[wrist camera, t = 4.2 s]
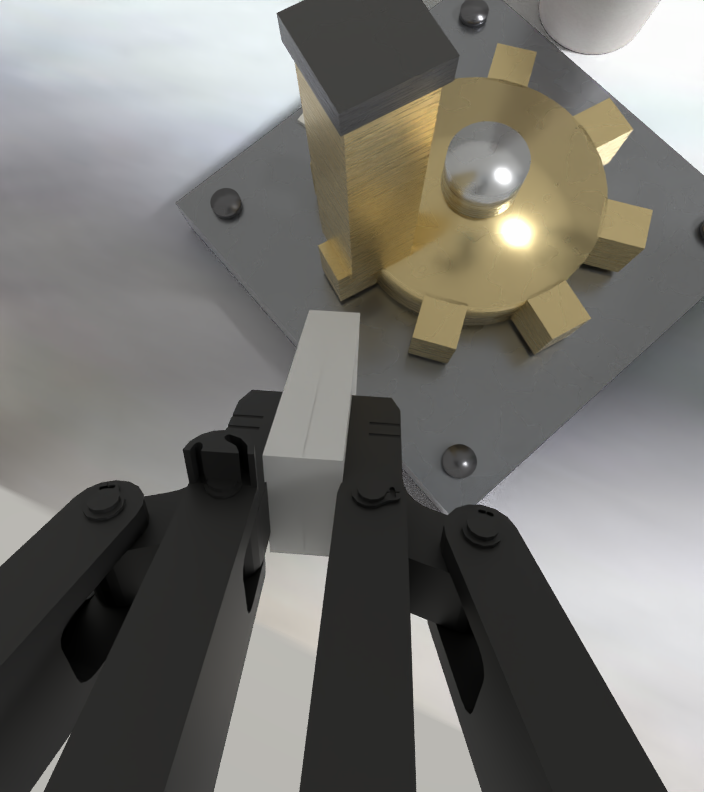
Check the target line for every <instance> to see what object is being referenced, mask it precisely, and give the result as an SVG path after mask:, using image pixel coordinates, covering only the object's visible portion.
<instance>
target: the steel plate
mask: <svg viewBox="0 0 704 792" xmlns="http://www.w3.org/2000/svg"><path fill="white" fill-rule="evenodd" d="M429 12H430V13H431V14H432V16H433V17H434V19H435V20H436V22H437V23H438V25H439V26H440V27H441V29H442V30H443V32H444V33H445V35H446V36H447V38H448V39H449V40H450V42H451V43H452V45H453V46H454V48H455V49H456V50H457V52H458V53H459V55H460V56H459V60H458V65H457V70H456V74H455V79H456V78H466V77H484V78H487V77H488V74H489V71H490V67H491V64H492V60H493V57H494V53H495V50H496V47H497V43H500V44H504V45H509V46H513V47H517V48H522V49H526V50H531V51H535V52H537V54H536V57H535V61H534V65H533V68H532V72H531V76H530V79H529V83H528V87H529V88H531V89H533V90H536V91H538V92H540V93H542V94H544V95H545V96H547V97H549V98H551V99H552V100H554V101H555V102H556V103H558V104H559V105H561V106H562V107H563V108H565V109H566V110H567V111H568V112H569V113H570V114H571V115H572V116H575V115H577V114H579V113H580V112H582V111H584V110H586V109H588V108H590V107H592V106H594V105H596V104H598V103H600V102H602V101H604V100H606V99H608V98H610V99H611V100H612V101H613V103H614V104H615V105H616V107H617V108H618V109H619V111H620V112H621V113H622V115H623V116H624V117H625V119H626V120H627V121H628V123H629V124H630V125H631V127H632V128H633V130H632V132H631V133H630V135H629V136H628V137H627V139H626V140H625V141H624V143H623V144H622V146H621V147H620V148H619V150H618V151H617V152H616V154H615V155H614V156H613V158H612V159H611V161H610V162H609V163H608V164H606V165H604V166H603V167H604V170H605V174H606V181H607V188H608V199H610V200H614V201H618V202H622V203H626V204H630V205H635V206H639V207H643V208H647V209H651V210H653V212H652V216H651V221H650V226H649V231H648V236H647V241H646V245H645V249H644V250H643V251H641V252H640V253H639V254H638V255H637V256H636V257H635V258H634V259H632V260H631V261H630V262H629V263H628V264H627V265H626V266H624V267H623V268H622V269H621V270H620V271H619V272H614V271H610V270H607V269H603V268H599V267H595V266H591V265H587V264H583V263H582V264H581V265H580V266H579V268H578V269H577V270H576V271H575V272H574V273H573V274H572V275H571V276H570V277H569V278H568V279H567V280H566V281H567V283H568V284H569V286H570V287H571V289H572V290H573V292H574V293H575V295H576V296H577V298H578V299H579V301H580V302H581V304H582V305H583V307H584V308H585V310H586V311H587V313H588V314H589V316H590V317H591V319H590V320H589V321H587V322H586V323H585V324H583V325H582V326H581V327H580V328H578V329H577V330H576V331H574V332H573V333H572V334H571V335H569V336H568V337H566V338H564V339H562V340H560V341H559V342H557V343H555V344H553V345H551V346H549V347H547V348H546V349H544V350H542V351H540V352H538V353H536V354H535V355H534V354H533V352H532V351H531V349H530V347H529V346H528V344H527V343H526V341H525V340H524V338H523V336H522V335H521V333H520V332H519V330H518V329H517V327H516V325H515V324H514V322H513V321H512V319H510V320H506V321H503V322H499V323H493V324H487V325H470V326H469V325H463V326H462V330H461V333H460V337H459V341H458V344H457V348H456V350H455V352H454V354H453V355H452V357H451V358H450V360H449V362H448V363H447V364H446V363H443V362H439V361H435V360H432V359H428V358H425V357H421V356H418V355H414V354H410V353H408V350H409V346H410V343H411V340H412V336H413V333H414V329H415V326H416V322H417V319H418V315H419V314H418V313H416V312H414V311H412V310H410V309H408V308H406V307H405V306H403V305H402V304H400V303H399V302H397V301H396V300H395V299H393V298H392V297H391V296H390V295H389V294H388V293H386V292H385V291H384V290H383V289H382V288H381V286H380V285H379V284H378V283H376V284H374V285H372V286H370V287H368V288H366V289H364V290H362V291H360V292H358V293H356V294H354V295H353V296H351V297H349V298H347V299H345V300H343V301H340V299H339V297H338V296H337V294H336V292H335V290H334V289H333V287H332V285H331V283H330V282H329V280H328V278H327V276H326V275H325V273H324V271H323V269H322V264H321V259H320V253H319V248H318V245H320V244H322V243H324V242H326V241H327V239H326V237H325V235H324V234H323V232H322V226H321V220H320V213H319V207H318V201H317V195H316V194H315V189H314V184H313V178H312V172H311V166H310V163H311V158H310V152H309V146H308V140H307V134H306V128H305V122H304V116H303V109H302V107H301V108H300V109H299V110H297V111H296V112H295V113H293V114H292V115H291V116H289V117H288V118H287V119H286V120H284V121H283V122H282V123H280V124H279V125H278V126H276V127H275V128H274V129H272V130H271V131H270V132H268V133H267V134H266V135H264V136H263V137H262V138H260V139H259V140H258V141H257V142H255V143H254V144H253V145H251V146H250V147H249V148H247V149H246V150H245V151H243V152H242V153H241V154H239V155H238V156H237V157H235V158H234V159H233V160H232V161H230V162H229V163H228V164H226V165H225V166H224V167H222V168H221V169H220V170H218V171H217V172H216V173H214V174H213V175H212V176H210V177H209V178H208V179H207V180H205V181H204V182H203V183H201V184H200V185H199V186H197V187H196V188H195V189H193V190H192V191H191V192H189V193H188V194H187V195H185V196H184V197H183V198H182V199H180V200H179V201H178V202H176V205H177V206H178V208H179V209H180V211H181V212H182V214H183V215H184V217H185V218H186V220H187V222H188V223H189V225H190V226H191V228H192V229H193V230H194V231H195V232H196V233H197V234H198V236H199V237H200V238H201V239H202V240H203V241H204V242H205V244H206V245H207V246H208V247H209V248H210V249H211V250H212V252H213V253H214V254H215V255H216V256H217V257H218V258H219V260H220V261H221V262H222V263H223V264H224V265H225V266H226V268H227V269H228V270H229V271H230V272H231V273H232V274H233V275H234V277H235V278H236V279H237V280H238V281H239V282H240V283H241V285H242V286H243V287H244V288H245V289H246V290H247V291H248V293H249V294H250V295H251V296H252V297H253V298H254V299H255V301H256V302H257V303H258V304H259V305H260V306H261V307H262V309H263V310H264V311H265V312H266V313H267V314H268V315H269V317H270V318H271V319H272V320H273V321H274V322H275V323H276V325H277V326H278V327H279V328H280V329H281V330H282V331H283V333H284V334H285V335H286V336H287V337H288V338H289V339H290V341H291V342H292V343H293V344H294V345H295V346H296V347H297V346H298V343H299V340H300V337H301V334H302V331H303V328H304V325H305V322H306V319H307V316H308V312H309V310H320V311H337V312H354V313H360V326H359V346H358V366H357V386H356V395H357V396H373V397H388V398H392V399H393V400H394V402H395V403H396V405H397V406H398V407H399V409H400V413H401V446H402V468H403V469H404V471H405V472H406V473H407V474H408V475H409V476H410V477H411V479H412V480H413V481H414V482H415V483H416V484H417V485H418V487H419V488H420V489H421V490H422V491H423V492H424V493H425V495H426V496H427V497H428V498H429V499H430V500H431V501H432V503H433V504H434V505H435V506H436V507H437V508H438V509H439V511H440V512H441V513H443V514H446V515H448V514H449V513H450V512H452V511H453V510H454V509H455V508H457V507H461V506H464V505H468V504H471V505H476V504H477V503H478V502H479V501H480V500H481V499H483V498H484V497H485V496H486V495H487V494H488V493H489V492H490V491H491V490H492V489H493V488H495V487H496V486H497V485H498V484H499V483H500V482H501V481H502V480H503V479H504V478H506V477H507V476H508V475H509V474H510V473H511V472H512V471H513V470H514V469H515V468H516V467H518V466H519V465H520V464H521V463H522V462H523V461H524V460H525V459H526V458H527V457H529V456H530V455H531V454H532V453H533V452H534V451H535V450H536V449H537V448H538V447H539V446H541V445H542V444H543V443H544V442H545V441H546V440H547V439H548V438H549V437H550V436H552V435H553V434H554V433H555V432H556V431H557V430H558V429H559V428H560V427H561V426H562V425H564V424H565V423H566V422H567V421H568V420H569V419H570V418H571V417H572V416H573V415H575V414H576V413H577V412H578V411H579V410H580V409H581V408H582V407H583V406H584V405H585V404H587V403H588V402H589V401H590V400H591V399H592V398H593V397H594V396H595V395H596V394H598V393H599V392H600V391H601V390H602V389H603V388H604V387H605V386H606V385H607V384H608V383H610V382H611V381H612V380H613V379H614V378H615V377H616V376H617V375H618V374H619V373H621V372H622V371H623V370H624V369H625V368H626V367H627V366H628V365H629V364H630V363H631V362H633V361H634V360H635V359H636V358H637V357H638V356H639V355H640V354H641V353H642V352H644V351H645V350H646V349H647V348H648V347H649V346H650V345H651V344H652V343H653V342H654V341H656V340H657V339H658V338H659V337H660V336H661V335H662V334H663V333H664V332H665V331H667V330H668V329H669V328H670V327H671V326H672V325H673V324H674V323H675V322H676V321H677V320H679V319H680V318H681V317H682V316H683V315H684V314H685V313H686V312H687V311H688V310H690V309H691V308H692V307H693V306H694V305H695V304H696V303H697V302H698V301H699V300H700V299H702V298H703V297H704V175H702V174H701V173H700V172H699V171H698V170H697V169H696V168H694V167H693V166H692V165H691V164H690V163H689V162H688V161H686V160H685V159H684V158H683V157H682V156H681V155H680V154H678V153H677V152H676V151H675V150H674V149H673V148H671V147H670V146H669V145H668V144H667V143H666V142H665V141H663V140H662V139H661V138H660V137H659V136H658V135H657V134H655V133H654V132H653V131H652V130H651V129H650V128H649V127H647V126H646V125H645V124H644V123H643V122H642V121H641V120H639V119H638V118H637V117H636V116H635V115H634V114H632V113H631V112H630V111H629V110H628V109H627V108H626V107H624V106H623V105H622V104H621V103H620V102H619V101H618V100H616V99H615V98H614V97H613V96H612V95H611V94H610V93H608V92H607V91H606V90H605V89H604V88H603V87H602V86H600V85H599V84H598V83H597V82H596V81H595V80H593V79H592V78H591V77H590V76H589V75H588V74H587V73H585V72H584V71H583V70H582V69H581V68H580V67H579V66H577V65H576V64H575V63H574V62H573V61H572V60H571V59H569V58H568V57H567V56H566V55H565V54H564V53H563V52H561V51H560V50H559V49H558V48H557V47H556V46H555V45H553V44H552V43H551V42H550V41H549V40H548V39H546V38H545V37H544V36H543V35H542V34H541V33H540V32H538V31H537V30H536V29H535V28H534V27H533V26H532V25H530V24H529V23H528V22H527V21H526V20H525V19H524V18H522V17H521V16H520V15H519V14H518V13H517V12H516V11H514V10H513V9H512V8H511V7H510V6H509V5H507V4H506V3H505V2H504V1H503V0H442V1H441V2H440V3H438V4H437V5H436V6H434V7H433V8H432V9H430V10H429ZM530 164H531V155H530V150H529V148H528V145H527V143H526V141H525V140H524V139H523V137H522V136H521V135H520V134H519V133H518V132H517V131H515V130H514V129H512V128H511V127H509V126H507V125H505V124H502V123H498V122H491V121H483V122H477V123H473V124H471V125H468V126H466V127H464V128H463V129H461V130H460V131H459V132H458V133H457V134H456V135H455V136H454V137H453V139H452V140H451V142H450V144H449V146H448V150H447V154H446V158H445V162H444V167H443V171H442V175H441V190H442V193H443V196H444V198H445V200H446V201H447V203H448V204H449V205H450V206H451V207H452V208H453V209H454V210H456V211H457V212H459V213H461V214H462V215H465V216H468V217H472V218H490V217H494V216H496V215H499V214H500V213H502V212H504V211H505V210H506V209H507V208H509V207H510V205H511V204H512V203H513V201H514V200H515V198H516V196H517V194H518V192H519V190H520V188H521V186H522V184H523V182H524V180H525V178H526V176H527V174H528V172H529V169H530Z"/></svg>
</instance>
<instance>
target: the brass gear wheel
mask: <svg viewBox="0 0 704 792" xmlns="http://www.w3.org/2000/svg"><path fill="white" fill-rule="evenodd" d="M277 18H278V23H279V28H280V34H281V39H282V42H283V44H284V45H285V47H286V48H287V50H288V52H289V53H290V55H291V57H292V58H293V60H294V62H295V67H296V73H297V79H298V85H299V91H300V97H301V103H302V109H303V116H304V122H305V128H306V134H307V140H308V146H309V152H310V158H311V163H310V166H311V172H312V178H313V184H314V189H315V194H316V195H317V201H318V207H319V213H320V220H321V226H322V232H323V234H324V235H325V237H326V239H327V241H326V242H324V243H322V244H320V245H318V248H319V253H320V259H321V264H322V269H323V271H324V273H325V275H326V276H327V278H328V280H329V282H330V283H331V285H332V287H333V289H334V290H335V292H336V294H337V296H338V297H339V299H340V301H343V300H345V299H347V298H349V297H351V296H353V295H354V294H356V293H358V292H360V291H362V290H364V289H366V288H368V287H370V286H372V285H374V284H376V283H378V284H379V285H380V286H381V288H382V289H383V290H384V291H385V292H386V293H388V294H389V295H390V296H391V297H392V298H393V299H395V300H396V301H397V302H399V303H400V304H402V305H403V306H405V307H406V308H408V309H410V310H412V311H414V312H416V313H418V314H419V315H418V319H417V322H416V326H415V329H414V333H413V336H412V340H411V343H410V346H409V350H408V353H410V354H414V355H418V356H421V357H425V358H428V359H432V360H435V361H439V362H443V363H446V364H447V363H448V362H449V360H450V358H451V357H452V355H453V354H454V352H455V350H456V348H457V344H458V341H459V337H460V333H461V330H462V326H463V325H469V326H470V325H487V324H493V323H499V322H503V321H506V320H510V319H512V321H513V322H514V324H515V325H516V327H517V329H518V330H519V332H520V333H521V335H522V336H523V338H524V340H525V341H526V343H527V344H528V346H529V347H530V349H531V351H532V352H533V354H534V355H535V354H536V353H538V352H540V351H542V350H544V349H546V348H547V347H549V346H551V345H553V344H555V343H557V342H559V341H560V340H562V339H564V338H566V337H568V336H569V335H571V334H572V333H573V332H574V331H576V330H577V329H578V328H580V327H581V326H582V325H583V324H585V323H586V322H587V321H589V320H590V319H591V317H590V316H589V314H588V313H587V311H586V310H585V308H584V307H583V305H582V304H581V302H580V301H579V299H578V298H577V296H576V295H575V293H574V292H573V290H572V289H571V287H570V286H569V284H568V283H567V281H566V280H567V279H568V278H569V277H570V276H571V275H572V274H573V273H574V272H575V271H576V270H577V269H578V268H579V266H580V265H581V264H582V263H583V264H587V265H591V266H595V267H599V268H603V269H607V270H610V271H614V272H619V271H620V270H621V269H622V268H623V267H624V266H626V265H627V264H628V263H629V262H630V261H631V260H632V259H634V258H635V257H636V256H637V255H638V254H639V253H640V252H641V251H643V250H644V249H645V245H646V241H647V236H648V231H649V226H650V221H651V216H652V212H653V210H651V209H647V208H643V207H639V206H635V205H630V204H626V203H622V202H618V201H614V200H610V199H608V188H607V181H606V174H605V170H604V167H603V166H604V165H606V164H608V163H609V162H610V161H611V159H612V158H613V156H614V155H615V154H616V152H617V151H618V150H619V148H620V147H621V146H622V144H623V143H624V141H625V140H626V139H627V137H628V136H629V135H630V133H631V132H632V130H633V128H632V127H631V125H630V124H629V123H628V121H627V120H626V119H625V117H624V116H623V115H622V113H621V112H620V111H619V109H618V108H617V107H616V105H615V104H614V103H613V101H612V100H611V99H610V98H608V99H606V100H604V101H602V102H600V103H598V104H596V105H594V106H592V107H590V108H588V109H586V110H584V111H582V112H580V113H579V114H577V115H575V116H572V115H571V114H570V113H569V112H568V111H567V110H566V109H565V108H563V107H562V106H561V105H559V104H558V103H556V102H555V101H554V100H552V99H551V98H549V97H547V96H545V95H544V94H542V93H540V92H538V91H536V90H533V89H531V88H529V87H528V83H529V79H530V76H531V72H532V68H533V65H534V61H535V57H536V54H537V52H535V51H531V50H526V49H522V48H517V47H513V46H509V45H504V44H500V43H497V47H496V50H495V53H494V57H493V60H492V64H491V67H490V71H489V74H488V77H487V78H484V77H466V78H456V79H455V74H456V70H457V65H458V60H459V56H460V55H459V53H458V52H457V50H456V49H455V48H454V46H453V45H452V43H451V42H450V40H449V39H448V38H447V36H446V35H445V33H444V32H443V30H442V29H441V27H440V26H439V25H438V23H437V22H436V20H435V19H434V17H433V16H432V14H431V13H430V12H429V10H428V9H427V7H426V6H425V4H424V3H423V1H422V0H304V1H301V2H299V3H297V4H295V5H293V6H291V7H289V8H287V9H284V10H282V11H280V12H278V13H277ZM483 121H491V122H498V123H502V124H505V125H507V126H509V127H511V128H512V129H514V130H515V131H517V132H518V133H519V134H520V135H521V136H522V137H523V139H524V140H525V141H526V143H527V145H528V148H529V150H530V155H531V164H530V169H529V172H528V174H527V176H526V178H525V180H524V182H523V184H522V186H521V188H520V190H519V192H518V194H517V196H516V198H515V200H514V201H513V203H512V204H511V205H510V207H509V208H507V209H506V210H505V211H504V212H502V213H500V214H499V215H496V216H494V217H490V218H472V217H468V216H465V215H462V214H461V213H459V212H457V211H456V210H454V209H453V208H452V207H451V206H450V205H449V204H448V203H447V201H446V200H445V198H444V196H443V193H442V190H441V175H442V171H443V167H444V162H445V158H446V154H447V150H448V146H449V144H450V142H451V140H452V139H453V137H454V136H455V135H456V134H457V133H458V132H459V131H460V130H461V129H463V128H464V127H466V126H468V125H471V124H473V123H477V122H483Z"/></svg>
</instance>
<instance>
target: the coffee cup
mask: <svg viewBox="0 0 704 792" xmlns="http://www.w3.org/2000/svg"><path fill="white" fill-rule="evenodd" d="M660 1H661V0H540V3H539V15H540V19H541V22H542V24H543V26H544V28H545V30H546V31H547V33H548V34H549V35H550V36H551V37H552V38H553V39H554V40H555V41H556V42H557V43H559V44H560V45H562V46H564V47H565V48H568V49H570V50H572V51H575V52H579V53H584V54H605V53H609V52H613V51H616V50H618V49H620V48H622V47H624V46H625V45H627V44H628V43H629V42H631V41H632V40H633V39H634V38H635V36H636V35H637V34H638V32H639V31H640V30H641V28H642V27H643V25H644V24H645V22H646V21H647V20H648V18H649V17H650V15H651V14H652V12H653V11H654V10H655V8H656V7H657V5H658V4H659V2H660Z"/></svg>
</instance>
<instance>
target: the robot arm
mask: <svg viewBox="0 0 704 792" xmlns="http://www.w3.org/2000/svg"><path fill="white" fill-rule="evenodd" d="M359 326H360V313H354V312H337V311H320V310H309V312H308V316H307V319H306V322H305V325H304V328H303V331H302V334H301V337H300V340H299V343H298V346H297V350H296V353H295V356H294V359H293V362H292V365H291V368H290V371H289V374H288V377H287V381H286V384H285V387H284V390H283V392H275V391H260V390H251V391H250V392H249V393H248V394H247V395H245V396H244V397H243V398H242V399H241V400H239V402H238V404H237V406H236V409H235V411H234V413H233V417H232V418H231V420H230V422H229V424H228V428H227V429H226V430H219V431H212V432H208V433H205V434H201V435H200V436H198V437H196V438H195V439H193V440H191V441H190V442H189V443H188V444H187V445H186V446H185V448H184V449H183V453H184V458H185V463H186V468H187V474H188V479H189V484H188V486H187V487H185V488H183V489H181V490H177V491H173V492H169V493H163V494H157V495H151V496H145V497H144V494H143V493H142V491H141V490H140V488H139V486H137V485H135V484H133V483H131V482H127V481H117V480H115V481H109V482H103V483H99V484H97V485H94V486H92V487H89V488H87V489H86V490H84V491H83V492H81V493H80V494H79V495H77V496H76V497H75V498H73V499H72V500H71V501H70V502H69V503H68V504H67V505H66V506H65V507H64V508H63V509H62V510H61V511H59V512H58V513H57V514H56V515H55V516H54V517H53V518H52V519H51V520H50V521H49V522H48V523H47V524H45V525H44V526H43V527H42V528H41V529H40V530H39V531H38V532H37V533H36V534H35V535H34V536H33V537H31V538H30V539H29V540H28V541H27V542H26V543H25V544H24V545H23V546H22V547H21V548H20V549H19V550H18V551H16V552H15V553H14V554H13V555H12V556H11V557H10V558H9V559H8V560H7V561H6V562H5V563H4V564H2V565H1V566H0V792H30V791H31V789H32V788H33V787H34V785H35V784H36V782H37V781H38V780H39V778H40V777H41V775H42V774H43V772H44V771H45V770H46V768H47V766H48V765H49V764H50V762H51V761H52V760H53V758H54V757H55V755H56V754H57V752H58V751H59V750H60V748H61V747H62V745H63V744H64V742H65V741H66V740H67V738H68V737H69V735H70V734H71V735H70V737H69V739H68V741H67V743H66V746H65V748H64V750H63V752H62V754H61V756H60V758H59V760H58V763H57V765H56V767H55V769H54V771H53V773H52V775H51V777H50V779H49V782H48V784H47V786H46V788H45V790H44V792H214V788H215V783H216V779H217V775H218V771H219V767H220V762H221V758H222V754H223V750H224V746H225V741H226V737H227V733H228V729H229V725H230V720H231V716H232V712H233V708H234V703H235V700H236V695H237V691H238V687H239V683H240V679H241V674H242V670H243V666H244V661H245V658H246V653H247V649H248V645H249V641H250V637H251V632H252V628H253V624H254V620H255V616H256V612H257V607H258V603H259V599H260V595H261V591H262V586H263V582H264V578H265V552H266V549H267V545H268V541H269V543H270V552H278V553H291V554H304V555H317V556H329V561H328V569H327V577H326V585H325V592H324V600H323V608H322V616H321V624H320V632H319V640H318V648H317V656H316V664H315V672H314V680H313V688H312V696H311V704H310V712H309V719H308V727H307V736H306V744H305V751H304V759H303V768H302V776H301V783H300V791H299V792H416V770H415V769H416V768H415V741H414V740H415V739H414V709H413V680H412V650H411V621H410V613H412V614H414V615H417V616H419V617H422V618H424V619H427V621H428V625H429V629H430V632H431V635H432V638H433V641H434V644H435V647H436V650H437V653H438V657H439V660H440V663H441V666H442V669H443V672H444V675H445V678H446V681H447V685H448V688H449V691H450V694H451V697H452V700H453V703H454V706H455V709H456V713H457V716H458V719H459V722H460V725H461V728H462V731H463V734H464V737H465V740H466V743H467V747H468V750H469V753H470V756H471V759H472V762H473V765H474V768H475V772H476V775H477V778H478V781H479V784H480V787H481V790H482V792H668V791H667V790H666V788H665V786H664V784H663V783H662V781H661V779H660V777H659V776H658V774H657V772H656V770H655V769H654V767H653V765H652V763H651V762H650V760H649V758H648V756H647V755H646V753H645V751H644V749H643V748H642V746H641V744H640V742H639V741H638V739H637V737H636V735H635V734H634V732H633V730H632V729H631V727H630V725H629V723H628V722H627V720H626V718H625V716H624V715H623V713H622V711H621V709H620V708H619V706H618V704H617V702H616V701H615V699H614V697H613V695H612V694H611V692H610V690H609V688H608V687H607V685H606V683H605V681H604V680H603V678H602V676H601V674H600V673H599V671H598V669H597V667H596V666H595V664H594V662H593V661H592V659H591V657H590V655H589V654H588V652H587V650H586V648H585V647H584V645H583V643H582V641H581V640H580V638H579V636H578V634H577V633H576V631H575V629H574V627H573V626H572V624H571V622H570V620H569V619H568V617H567V615H566V613H565V612H564V610H563V608H562V606H561V605H560V603H559V601H558V600H557V598H556V596H555V594H554V593H553V591H552V589H551V587H550V586H549V584H548V582H547V580H546V579H545V577H544V575H543V573H542V572H541V570H540V568H539V566H538V565H537V563H536V561H535V559H534V558H533V556H532V554H531V552H530V551H529V549H528V547H527V545H526V544H525V542H524V540H523V538H522V537H521V535H520V533H519V532H518V530H517V528H516V527H515V525H514V524H513V523H512V522H511V521H510V519H509V518H508V517H506V516H505V515H503V514H502V513H500V512H499V511H497V510H496V509H493V508H490V507H487V506H483V505H471V504H468V505H464V506H461V507H457V508H455V509H454V510H453V511H452V512H450V513H449V514H448V515H446V514H443V513H440V512H437V511H434V510H432V509H429V508H427V507H425V506H422V505H421V504H419V503H418V502H416V501H415V500H414V499H413V498H412V497H411V496H410V495H409V494H408V493H407V491H406V489H405V487H404V484H403V479H402V446H401V413H400V409H399V407H398V406H397V405H396V403H395V402H394V400H393V399H392V398H388V397H373V396H357V395H356V386H357V366H358V346H359ZM71 732H72V733H71Z"/></svg>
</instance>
